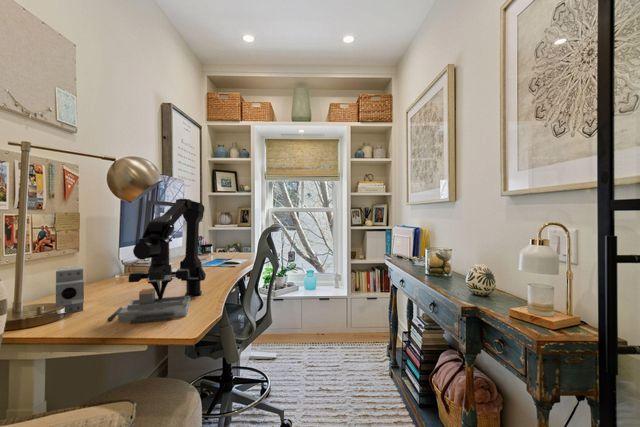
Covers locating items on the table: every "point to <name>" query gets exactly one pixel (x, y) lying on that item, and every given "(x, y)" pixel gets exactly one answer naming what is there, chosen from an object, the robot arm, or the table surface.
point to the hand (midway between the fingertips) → (160, 299)
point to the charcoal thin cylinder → (150, 319)
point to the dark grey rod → (114, 314)
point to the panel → (155, 308)
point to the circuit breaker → (70, 288)
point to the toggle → (147, 296)
